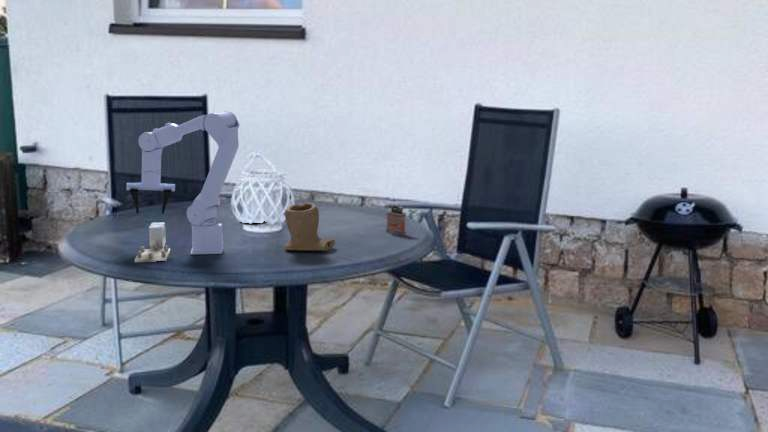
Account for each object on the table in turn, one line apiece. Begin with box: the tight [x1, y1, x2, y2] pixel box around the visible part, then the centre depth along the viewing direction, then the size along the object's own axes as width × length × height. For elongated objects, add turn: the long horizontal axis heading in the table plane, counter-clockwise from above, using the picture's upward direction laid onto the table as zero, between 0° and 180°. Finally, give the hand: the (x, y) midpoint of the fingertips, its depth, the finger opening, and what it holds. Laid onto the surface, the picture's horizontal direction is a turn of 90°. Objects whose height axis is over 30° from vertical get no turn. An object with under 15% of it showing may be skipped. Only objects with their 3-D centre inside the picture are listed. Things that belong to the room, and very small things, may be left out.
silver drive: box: [148, 221, 167, 249], centre depth 252 cm, size 4×8×7 cm, turn 9°
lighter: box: [385, 203, 407, 236], centre depth 275 cm, size 8×3×10 cm, turn 47°
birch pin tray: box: [133, 244, 172, 263], centre depth 239 cm, size 9×14×2 cm, turn 9°
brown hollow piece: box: [284, 202, 336, 252], centre depth 248 cm, size 15×12×15 cm
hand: (150, 212), depth 250 cm, fingers open, 7 cm apart
